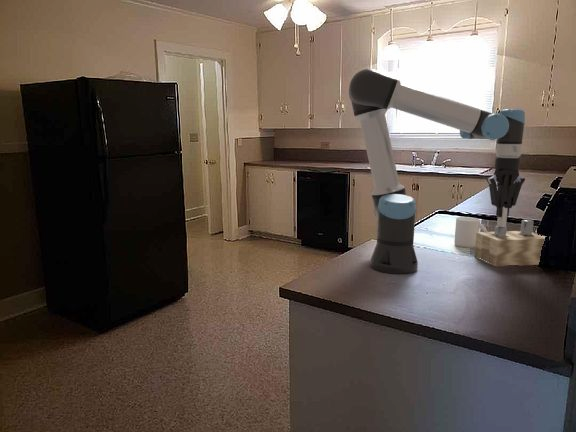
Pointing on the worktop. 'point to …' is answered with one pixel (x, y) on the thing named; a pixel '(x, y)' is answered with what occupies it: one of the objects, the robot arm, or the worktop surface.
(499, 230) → the peg
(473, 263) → the worktop surface
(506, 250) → the socket block
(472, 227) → the mug
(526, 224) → the peg
